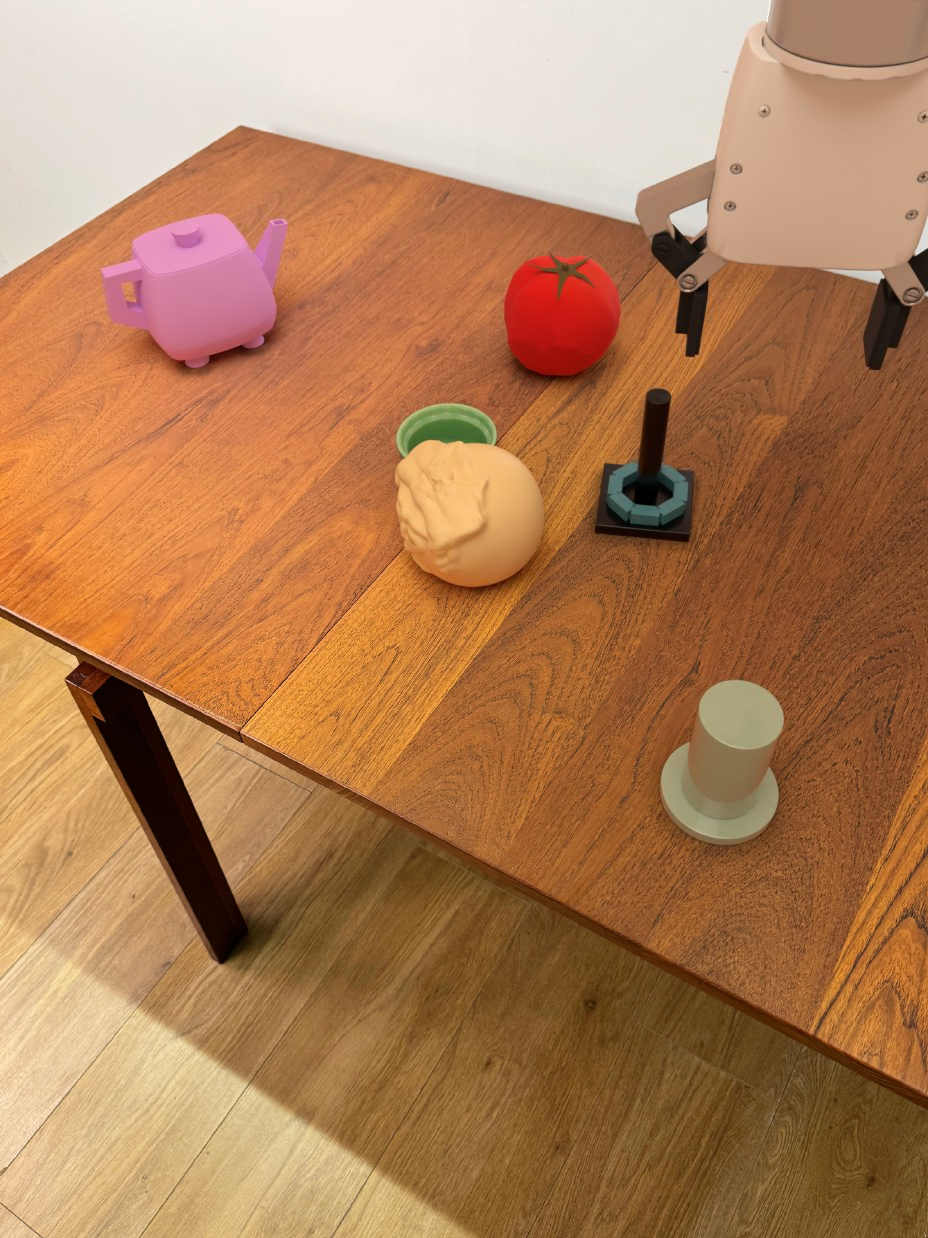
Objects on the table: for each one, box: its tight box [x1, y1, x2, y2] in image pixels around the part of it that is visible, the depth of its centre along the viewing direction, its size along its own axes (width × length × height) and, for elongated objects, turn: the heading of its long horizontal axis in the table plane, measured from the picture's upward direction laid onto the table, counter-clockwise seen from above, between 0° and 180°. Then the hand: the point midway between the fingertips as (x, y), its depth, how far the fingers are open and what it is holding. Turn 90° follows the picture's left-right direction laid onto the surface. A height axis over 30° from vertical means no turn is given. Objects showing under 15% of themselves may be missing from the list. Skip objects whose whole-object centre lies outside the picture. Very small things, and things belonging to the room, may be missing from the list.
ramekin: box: [395, 402, 498, 460], centre depth 90 cm, size 9×9×4 cm
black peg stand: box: [594, 387, 695, 543], centre depth 83 cm, size 8×8×12 cm
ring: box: [607, 460, 688, 526], centre depth 87 cm, size 7×7×1 cm
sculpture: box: [394, 440, 545, 588], centre depth 81 cm, size 12×12×11 cm
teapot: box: [100, 213, 289, 369], centre depth 102 cm, size 20×12×13 cm, turn 119°
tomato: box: [503, 250, 622, 376], centre depth 97 cm, size 12×12×11 cm
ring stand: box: [659, 679, 785, 846], centre depth 66 cm, size 8×8×10 cm
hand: (780, 348), depth 55 cm, fingers open, 9 cm apart
